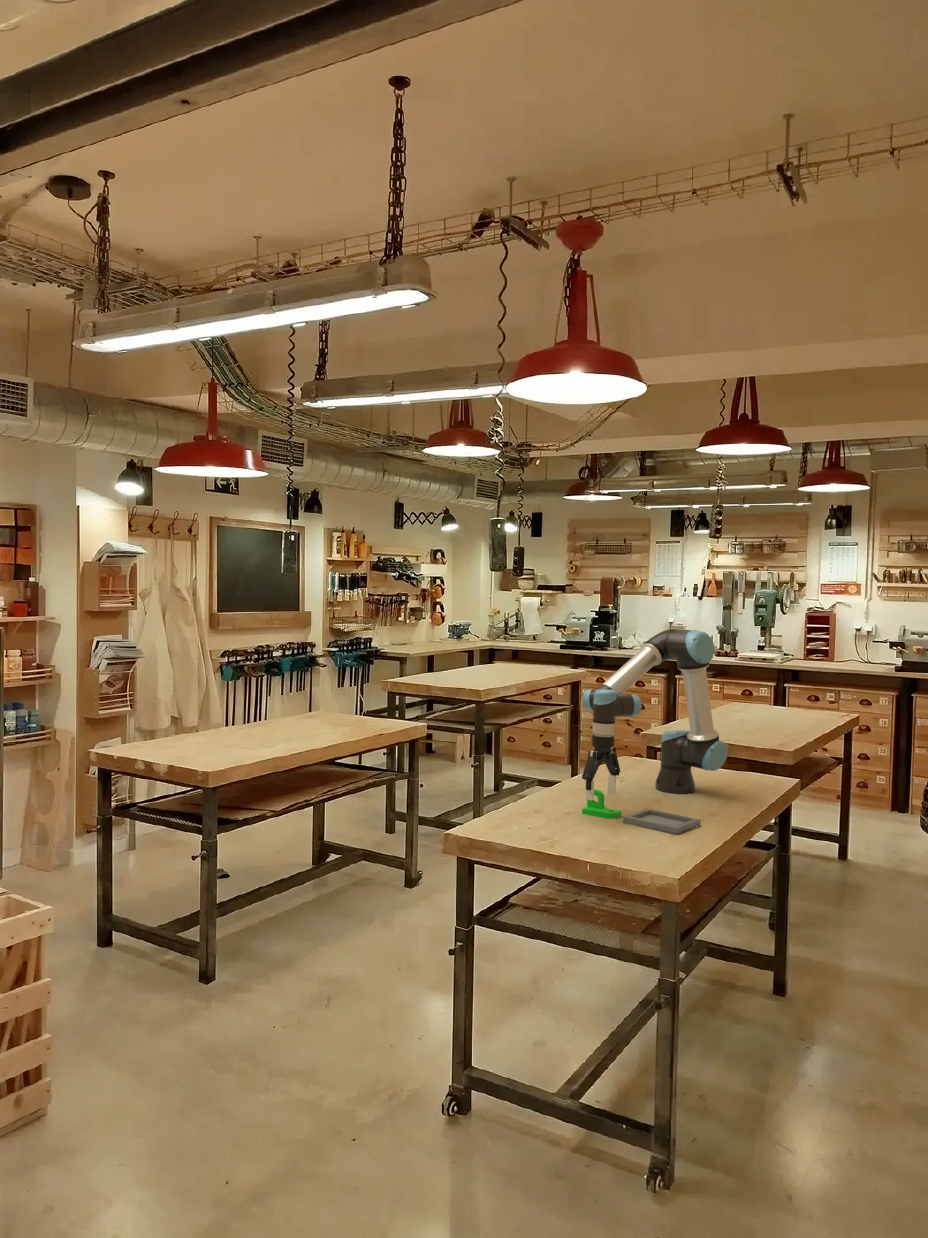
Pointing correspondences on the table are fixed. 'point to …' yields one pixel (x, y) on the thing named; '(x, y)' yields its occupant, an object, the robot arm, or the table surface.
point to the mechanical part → (600, 808)
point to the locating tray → (661, 821)
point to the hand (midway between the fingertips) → (600, 796)
